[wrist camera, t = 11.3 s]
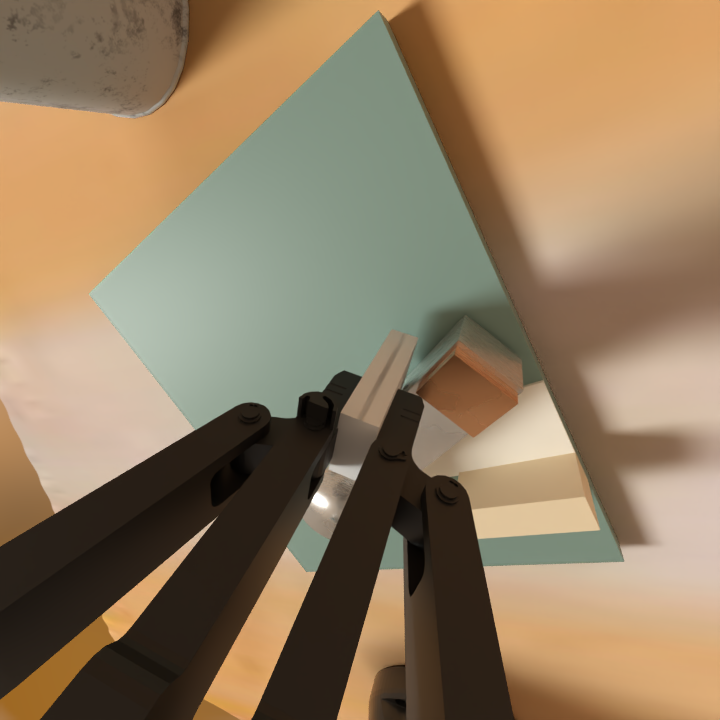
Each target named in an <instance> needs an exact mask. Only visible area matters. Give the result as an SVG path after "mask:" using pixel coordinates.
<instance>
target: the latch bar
mask: <svg viewBox="0 0 720 720" xmlns="http://www.w3.org/2000/svg"><path fill="white" fill-rule="evenodd" d="M401 390H403V391H406V392H409V393H412V394H415V395H417V396H420V397H422V400H423V403H424V410H423V413H422V416H421V420H420V423H419V427H418V430H417V434H416V437H415V440H414V444H413V447H412V458H413V460H414V462H415V464H416V465H417V466H418V468H419V469H421V470H423V469H424V468H425V467H427V466H428V465H429V464H430V463H432V462H433V461H434V460H436V459H437V458H438V457H439V456H441V455H442V454H443V453H445V452H446V451H447V450H448V449H450V448H451V447H452V446H454V445H455V444H456V443H457V442H459V441H460V440H461V439H463V438H464V437H465V436H466V435H468V434H469V435H470V436H472V437H473V438H474V437H475V436H477V435H478V434H479V433H481V432H482V431H483V430H485V429H486V428H487V427H488V426H490V425H491V424H492V423H494V422H495V421H496V420H498V419H499V418H500V417H502V416H503V415H504V414H506V413H507V412H508V411H510V410H511V409H512V408H513V407H515V406H516V405H517V404H518V395H519V394H520V393H522V392H523V391H524V389H523V374H522V358H521V357H519V356H518V355H517V354H516V353H514V352H513V351H512V350H510V349H509V348H508V347H507V346H505V345H504V344H503V343H501V342H500V341H499V340H498V339H496V338H495V337H494V336H492V335H491V334H490V333H489V332H487V331H486V330H485V329H484V328H482V327H481V326H480V325H478V324H477V323H476V322H475V321H473V320H472V319H471V318H469V317H468V316H467V315H466V314H465V316H464V317H463V318H462V319H461V320H460V321H459V322H458V323H457V324H456V325H455V326H454V327H453V328H452V329H451V330H450V331H449V332H448V334H447V335H446V336H445V337H444V338H443V339H442V340H441V341H440V342H439V343H438V344H437V345H436V346H435V347H434V348H433V349H432V351H431V352H430V353H429V354H428V355H427V356H426V357H425V358H424V359H423V360H422V361H421V362H420V363H419V364H418V365H417V366H416V368H415V369H414V370H413V371H412V372H411V373H410V374H409V375H408V376H407V377H406V378H405V382H404V385H403V387H402V389H401ZM329 465H330V463H329ZM329 465H328V466H327V468H326V470H325V473H324V478H323V481H322V483H321V485H320V487H319V489H318V491H317V492H316V494H315V496H314V498H313V500H312V502H311V503H310V505H309V507H308V509H307V511H306V513H305V514H304V516H303V519H304V521H305V522H306V523H307V524H308V525H309V526H310V527H311V528H312V529H313V530H314V531H316V532H317V533H319V534H320V535H322V536H323V537H325V538H327V539H331V536H332V534H333V532H334V529H335V527H336V525H337V522H338V520H339V518H340V515H341V513H342V511H343V509H344V506H345V504H346V502H347V499H348V497H349V495H350V492H351V490H352V488H353V485H354V483H355V480H352V479H350V478H348V477H345V476H343V475H341V474H338V473H336V472H333V471H331V470H329Z"/></svg>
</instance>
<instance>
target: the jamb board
mask: <svg viewBox="0 0 720 720" xmlns="http://www.w3.org/2000/svg"><path fill="white" fill-rule="evenodd" d="M89 295H90V296H91V298H92V299H93V300H94V301H95V303H96V304H97V305H98V306H99V308H100V309H101V310H102V312H103V313H104V314H105V315H106V317H107V318H108V319H109V320H110V322H111V323H112V324H113V326H114V327H115V328H116V329H117V331H118V332H119V333H120V335H121V336H122V337H123V338H124V340H125V341H126V342H127V343H128V345H129V346H130V347H131V349H132V350H133V351H134V352H135V354H136V355H137V356H138V357H139V359H140V360H141V361H142V363H143V364H144V365H145V366H146V368H147V369H148V370H149V372H150V373H151V374H152V375H153V377H154V378H155V379H156V380H157V382H158V383H159V384H160V386H161V387H162V388H163V389H164V391H165V392H166V393H167V394H168V396H169V397H170V398H171V400H172V401H173V402H174V403H175V405H176V406H177V407H178V409H179V410H180V411H181V412H182V414H183V415H184V416H185V417H186V419H187V420H188V421H189V423H190V424H191V425H192V426H193V428H194V429H195V430H197V429H198V428H200V427H202V426H203V425H205V424H207V423H208V422H210V421H212V420H213V419H215V418H217V417H218V416H220V415H222V414H223V413H225V412H227V411H228V410H230V409H232V408H233V407H235V406H237V405H240V404H242V403H248V402H253V403H259V404H262V405H264V406H266V407H267V408H268V409H269V411H270V414H271V417H279V418H296V416H297V409H298V401H299V397H300V396H301V395H303V394H304V393H308V392H314V391H319V392H323V390H325V388H326V386H327V385H328V384H329V382H330V381H331V379H332V378H333V377H334V375H336V374H338V373H340V372H342V371H344V370H345V371H348V372H351V373H353V374H356V375H359V376H362V377H363V375H364V373H365V372H366V370H367V369H368V367H369V365H370V364H371V362H372V360H373V359H374V357H375V356H376V354H377V352H378V351H379V349H380V347H381V346H382V344H383V343H384V341H385V339H386V338H387V336H388V334H389V333H390V331H391V330H392V329H393V330H396V331H399V332H402V333H405V334H408V335H411V336H414V337H418V341H417V344H416V347H415V350H414V353H413V356H412V360H411V363H410V366H409V369H408V372H407V375H406V377H407V376H408V375H409V374H410V373H411V372H412V371H413V370H414V369H415V368H416V366H417V365H418V364H419V363H420V362H421V361H422V360H423V359H424V358H425V357H426V356H427V355H428V354H429V353H430V352H431V351H432V349H433V348H434V347H435V346H436V345H437V344H438V343H439V342H440V341H441V340H442V339H443V338H444V337H445V336H446V335H447V334H448V332H449V331H450V330H451V329H452V328H453V327H454V326H455V325H456V324H457V323H458V322H459V321H460V320H461V319H462V318H463V317H464V316H465V314H466V315H467V316H468V317H469V318H471V319H472V320H473V321H475V322H476V323H477V324H478V325H480V326H481V327H482V328H484V329H485V330H486V331H487V332H489V333H490V334H491V335H492V336H494V337H495V338H496V339H498V340H499V341H500V342H501V343H503V344H504V345H505V346H507V347H508V348H509V349H510V350H512V351H513V352H514V353H516V354H517V355H518V356H519V357H521V358H522V374H523V389H524V391H523V392H522V393H520V394H519V395H518V404H517V405H516V406H515V407H513V408H512V409H511V410H510V411H508V412H507V413H506V414H504V415H503V416H502V417H500V418H499V419H498V420H496V421H495V422H494V423H492V424H491V425H490V426H488V427H487V428H486V429H485V430H483V431H482V432H481V433H479V434H478V435H477V436H475V437H474V438H473V437H472V436H470V435H469V434H468V435H466V436H465V437H464V438H463V439H461V440H460V441H459V442H457V443H456V444H455V445H454V446H452V447H451V448H450V449H448V450H447V451H446V452H445V453H443V454H442V455H441V456H439V457H438V458H437V459H436V460H434V461H433V462H432V463H430V464H429V465H428V466H427V467H425V468H424V469H423V470H422V471H423V472H424V473H426V474H427V475H428V476H430V477H434V476H436V475H445V476H448V477H451V478H453V479H455V480H456V481H458V482H459V483H461V485H462V486H463V487H464V488H465V489H466V491H467V493H468V496H469V499H470V503H471V508H472V513H473V518H474V523H475V528H476V533H477V538H478V543H479V548H480V553H481V558H482V563H483V566H503V565H535V564H566V563H598V562H624V559H623V555H622V552H621V548H620V545H619V542H618V540H617V537H616V535H615V533H614V531H613V528H612V526H611V524H610V521H609V519H608V517H607V515H606V512H605V510H604V508H603V506H602V503H601V501H600V499H599V497H598V494H597V492H596V490H595V488H594V485H593V483H592V481H591V479H590V476H589V474H588V472H587V470H586V467H585V465H584V463H583V461H582V458H581V456H580V454H579V452H578V449H577V447H576V445H575V442H574V440H573V438H572V436H571V433H570V431H569V429H568V427H567V424H566V422H565V420H564V418H563V415H562V413H561V411H560V409H559V406H558V404H557V402H556V400H555V397H554V395H553V393H552V391H551V388H550V386H549V384H548V382H547V379H546V377H545V375H544V372H543V370H542V368H541V366H540V363H539V361H538V359H537V357H536V354H535V352H534V350H533V348H532V345H531V343H530V341H529V339H528V336H527V334H526V332H525V330H524V327H523V325H522V323H521V321H520V318H519V316H518V314H517V312H516V309H515V307H514V305H513V303H512V300H511V298H510V296H509V293H508V291H507V289H506V287H505V284H504V282H503V280H502V278H501V275H500V273H499V271H498V269H497V266H496V264H495V262H494V260H493V257H492V255H491V253H490V251H489V248H488V246H487V244H486V242H485V239H484V237H483V235H482V233H481V230H480V228H479V226H478V223H477V221H476V219H475V217H474V214H473V212H472V210H471V208H470V205H469V203H468V201H467V199H466V196H465V194H464V192H463V190H462V187H461V185H460V183H459V181H458V178H457V176H456V174H455V172H454V169H453V167H452V165H451V163H450V160H449V158H448V156H447V154H446V151H445V149H444V147H443V144H442V142H441V140H440V138H439V135H438V133H437V131H436V129H435V126H434V124H433V122H432V120H431V117H430V115H429V113H428V111H427V108H426V106H425V104H424V102H423V99H422V97H421V95H420V93H419V90H418V88H417V86H416V84H415V81H414V79H413V77H412V75H411V72H410V70H409V68H408V65H407V63H406V61H405V59H404V56H403V54H402V52H401V50H400V47H399V45H398V43H397V41H396V38H395V36H394V34H393V32H392V29H391V27H390V25H389V23H388V21H387V20H386V18H385V17H384V16H383V15H382V14H381V13H380V12H379V10H378V11H377V12H376V13H375V14H374V15H373V16H372V17H371V18H370V19H369V20H368V21H367V22H366V23H365V24H364V25H363V26H362V27H361V28H360V29H359V30H358V31H357V32H356V33H355V34H354V35H353V36H352V37H351V38H349V39H348V40H347V41H346V42H345V43H344V44H343V45H342V46H341V47H340V48H339V49H338V50H337V51H336V52H335V53H334V54H333V55H332V56H331V57H330V58H329V59H328V60H327V61H326V62H325V63H324V64H323V65H322V66H321V67H320V68H319V69H318V70H317V71H316V72H315V73H314V74H313V75H312V76H311V77H310V78H309V79H308V80H307V81H306V82H305V83H304V84H303V85H301V86H300V87H299V88H298V89H297V90H296V91H295V92H294V93H293V94H292V95H291V96H290V97H289V98H288V99H287V100H286V101H285V102H284V103H283V104H282V105H281V106H280V107H279V108H278V109H277V110H276V111H275V112H274V113H273V114H272V115H271V116H270V117H269V118H268V119H267V120H266V121H265V122H264V123H263V124H262V125H261V126H260V127H259V128H258V129H257V130H256V131H254V132H253V133H252V134H251V135H250V136H249V137H248V138H247V139H246V140H245V141H244V142H243V143H242V144H241V145H240V146H239V147H238V148H237V149H236V150H235V151H234V152H233V153H232V154H231V155H230V156H229V157H228V158H227V159H226V160H225V161H224V162H223V163H222V164H221V165H220V166H219V167H218V168H217V169H216V170H215V171H214V172H213V173H212V174H211V175H210V176H209V177H208V178H206V179H205V180H204V181H203V182H202V183H201V184H200V185H199V186H198V187H197V188H196V189H195V190H194V191H193V192H192V193H191V194H190V195H189V196H188V197H187V198H186V199H185V200H184V201H183V202H182V203H181V204H180V205H179V206H178V207H177V208H176V209H175V210H174V211H173V212H172V213H171V214H170V215H169V216H168V217H167V218H166V219H165V220H164V221H163V222H162V223H161V224H159V225H158V226H157V227H156V228H155V229H154V230H153V231H152V232H151V233H150V234H149V235H148V236H147V237H146V238H145V239H144V240H143V241H142V242H141V243H140V244H139V245H138V246H137V247H136V248H135V249H134V250H133V251H132V252H131V253H130V254H129V255H128V256H127V257H126V258H125V259H124V260H123V261H122V262H121V263H120V264H119V265H118V266H117V267H116V268H115V269H114V270H113V271H111V272H110V273H109V274H108V275H107V276H106V277H105V278H104V279H103V280H102V281H101V282H100V283H99V284H98V285H97V286H96V287H95V288H94V289H93V290H92V291H91V292H90V293H89ZM329 541H330V539H327V538H325V537H323V536H322V535H320V534H319V533H317V532H316V531H314V530H313V529H312V528H311V527H310V526H309V525H308V524H307V523H306V522H305V521H304V519H303V518H302V520H301V522H300V523H299V525H298V527H297V529H296V531H295V533H294V534H293V536H292V538H291V540H290V542H289V543H288V545H287V548H288V549H289V550H290V551H291V553H292V554H293V555H294V557H295V558H296V559H297V560H298V562H299V563H300V564H301V565H302V567H303V568H304V569H305V571H306V572H315V571H317V569H318V566H319V564H320V562H321V559H322V557H323V555H324V553H325V550H326V548H327V546H328V543H329ZM379 569H404V564H403V536H402V535H401V534H400V533H398V532H397V531H396V530H395V529H394V528H392V527H391V529H390V533H389V536H388V540H387V543H386V547H385V550H384V554H383V558H382V561H381V565H380V568H379Z"/></svg>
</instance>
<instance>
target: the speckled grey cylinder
mask: <svg viewBox="0 0 720 720" xmlns="http://www.w3.org/2000/svg"><path fill="white" fill-rule="evenodd" d="M188 37H189V4H188V0H0V101H2V102H11V103H20V104H29V105H37V106H46V107H55V108H64V109H73V110H82V111H90V112H99V113H108V114H112V115H114V116H116V117H126V118H138V117H142V116H146V115H150V114H151V113H153V112H154V111H155V110H157V109H158V108H160V107H161V106H162V105H164V104H165V102H166V101H167V99H168V98H169V97H170V95H171V94H172V92H173V91H174V90H175V88H176V85H177V83H178V80H179V78H180V75H181V73H182V70H183V68H184V62H185V57H186V52H187V46H188Z"/></svg>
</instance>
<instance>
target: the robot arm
mask: <svg viewBox="0 0 720 720" xmlns="http://www.w3.org/2000/svg"><path fill="white" fill-rule="evenodd" d="M417 341H418V337H414V336H411V335H408V334H405V333H402V332H399V331H396V330H393V329H392V330H391V331H390V333H389V334H388V336H387V338H386V339H385V341H384V343H383V344H382V346H381V347H380V349H379V351H378V352H377V354H376V356H375V357H374V359H373V360H372V362H371V364H370V365H369V367H368V369H367V370H366V372H365V373H364V375H363V377H362V376H359V375H356V374H353V373H351V372H348V371H345V370H344V371H342V372H340V373H338V374H336V375H334V377H333V378H332V379H331V381H330V382H329V384H328V385H327V386H326V388H325V390H323V392H319V391H314V392H308V393H304V394H303V395H301V396H300V397H299V401H298V409H297V416H296V418H279V417H271V414H270V411H269V409H268V408H267V407H266V406H264V405H262V404H259V403H253V402H248V403H242V404H240V405H237V406H235V407H233V408H232V409H230V410H228V411H227V412H225V413H223V414H222V415H220V416H218V417H217V418H215V419H213V420H212V421H210V422H208V423H207V424H205V425H203V426H202V427H200V428H198V429H197V430H195V431H193V432H192V433H190V434H188V435H187V436H185V437H183V438H182V439H180V440H178V441H176V442H175V443H173V444H171V445H170V446H168V447H166V448H165V449H163V450H161V451H160V452H158V453H156V454H155V455H153V456H151V457H150V458H148V459H146V460H145V461H143V462H141V463H140V464H138V465H136V466H135V467H133V468H131V469H130V470H128V471H126V472H125V473H123V474H121V475H120V476H118V477H116V478H115V479H113V480H111V481H109V482H108V483H106V484H104V485H103V486H101V487H99V488H98V489H96V490H94V491H93V492H91V493H89V494H88V495H86V496H84V497H83V498H81V499H79V500H78V501H76V502H74V503H73V504H71V505H69V506H68V507H66V508H64V509H63V510H61V511H59V512H58V513H56V514H54V515H53V516H51V517H49V518H48V519H46V520H44V521H42V522H41V523H39V524H37V525H36V526H34V527H32V528H31V529H29V530H27V531H26V532H24V533H22V534H21V535H19V536H17V537H16V538H14V539H12V540H11V541H9V542H7V543H6V544H4V545H2V546H1V547H0V699H1V698H2V697H4V696H5V695H6V694H8V693H9V692H10V691H11V690H13V689H14V688H15V687H17V686H18V685H19V684H20V683H21V682H22V681H24V680H25V679H26V678H27V677H28V676H29V675H31V674H32V673H33V672H34V671H35V670H37V669H38V668H39V667H40V666H41V665H43V664H44V663H45V662H46V661H47V660H48V659H50V658H51V657H52V656H53V655H54V654H56V653H57V652H58V651H59V650H60V649H61V648H62V647H64V646H65V645H66V644H67V643H69V642H70V641H71V640H72V639H73V638H74V637H75V636H77V635H78V634H79V633H80V632H81V631H83V630H84V629H85V628H86V627H87V626H89V625H90V624H91V623H92V622H93V621H95V619H97V618H98V617H99V616H100V615H102V614H103V613H104V612H105V611H106V610H108V609H109V608H110V607H111V606H112V605H113V604H115V603H116V602H117V601H118V600H119V599H121V598H122V597H123V596H124V595H125V594H126V593H128V592H129V591H130V590H131V589H132V588H134V587H135V586H136V585H137V584H138V583H139V582H141V581H142V580H143V579H144V578H145V577H147V576H148V575H149V574H150V573H151V572H152V571H154V570H155V569H156V568H157V567H158V566H160V565H161V564H162V563H163V562H164V561H165V560H167V559H168V558H169V557H170V556H171V555H173V554H174V553H175V552H176V551H177V550H178V549H180V548H181V547H182V546H183V545H184V544H186V543H187V542H188V541H189V540H190V539H191V538H193V537H194V536H195V535H196V534H197V533H199V532H200V531H201V530H202V529H203V528H204V527H206V526H207V525H208V524H209V523H210V522H212V521H213V520H214V519H215V518H216V517H217V516H218V517H217V518H216V520H215V521H214V522H213V524H212V525H211V526H210V527H209V529H208V530H207V531H206V532H205V534H204V535H203V536H202V538H201V539H200V540H199V541H198V543H197V544H196V545H195V546H194V548H193V549H192V550H191V552H190V553H189V554H188V555H187V557H186V558H185V559H184V560H183V562H182V563H181V564H180V566H179V567H178V568H177V569H176V571H175V572H174V573H173V575H172V576H171V577H170V578H169V580H168V581H167V582H166V583H165V585H164V586H163V587H162V589H161V590H160V591H159V592H158V594H157V595H156V596H155V597H154V599H153V600H152V601H151V603H150V604H149V605H148V606H147V608H146V609H145V610H144V612H143V613H142V614H141V615H140V617H139V618H138V619H137V620H136V622H135V623H134V624H133V626H132V627H131V628H130V629H129V630H128V631H127V633H126V634H125V635H124V636H123V637H121V638H120V639H119V640H118V641H115V642H113V643H111V644H109V645H107V646H105V647H103V648H102V649H101V650H100V651H99V652H97V653H96V654H95V655H94V656H93V657H92V658H91V659H90V660H89V661H88V663H87V664H86V665H85V666H84V667H83V668H82V669H81V670H80V671H79V673H78V674H77V675H76V676H75V678H74V679H73V680H72V681H71V682H70V684H69V685H68V686H67V687H66V689H65V690H64V691H63V692H62V694H61V695H60V696H59V697H58V698H57V700H56V701H55V702H54V703H53V705H52V706H51V707H50V708H49V710H48V711H47V712H46V713H45V714H44V716H43V717H42V718H41V719H40V720H193V717H194V715H195V713H196V711H197V709H198V707H199V705H200V704H201V702H202V700H203V698H204V696H205V695H206V693H207V691H208V689H209V687H210V685H211V684H212V682H213V680H214V678H215V676H216V675H217V673H218V671H219V669H220V667H221V665H222V664H223V662H224V660H225V658H226V656H227V655H228V653H229V651H230V649H231V647H232V645H233V644H234V642H235V640H236V638H237V636H238V634H239V633H240V631H241V629H242V627H243V625H244V624H245V622H246V620H247V618H248V616H249V614H250V613H251V611H252V609H253V607H254V605H255V604H256V602H257V600H258V598H259V596H260V594H261V593H262V591H263V589H264V587H265V585H266V584H267V582H268V580H269V578H270V576H271V574H272V573H273V571H274V569H275V567H276V565H277V563H278V562H279V560H280V558H281V556H282V554H283V553H284V551H285V549H286V547H287V545H288V543H289V542H290V540H291V538H292V536H293V534H294V533H295V531H296V529H297V527H298V525H299V523H300V522H301V520H302V518H303V516H304V514H305V513H306V511H307V509H308V507H309V505H310V503H311V502H312V500H313V498H314V496H315V494H316V492H317V491H318V489H319V487H320V485H321V483H322V481H323V478H324V473H325V470H326V468H327V466H328V465H329V463H330V465H329V470H331V471H333V472H336V473H338V474H341V475H343V476H345V477H348V478H350V479H352V480H355V483H354V485H353V488H352V490H351V492H350V495H349V497H348V499H347V502H346V504H345V506H344V509H343V511H342V513H341V515H340V518H339V520H338V522H337V525H336V527H335V529H334V532H333V534H332V536H331V539H330V541H329V543H328V546H327V548H326V550H325V553H324V555H323V557H322V559H321V562H320V564H319V566H318V569H317V571H316V573H315V576H314V578H313V580H312V583H311V585H310V587H309V590H308V592H307V594H306V597H305V599H304V601H303V603H302V606H301V608H300V610H299V613H298V615H297V617H296V620H295V622H294V624H293V627H292V629H291V631H290V634H289V636H288V638H287V641H286V643H285V645H284V648H283V650H282V652H281V654H280V657H279V659H278V661H277V664H276V666H275V668H274V671H273V673H272V675H271V678H270V680H269V682H268V685H267V687H266V689H265V692H264V694H263V696H262V698H261V701H260V703H259V705H258V707H257V710H256V712H255V714H254V716H253V718H252V719H251V720H337V716H338V713H339V709H340V706H341V702H342V699H343V695H344V692H345V688H346V685H347V681H348V677H349V674H350V670H351V667H352V663H353V660H354V656H355V653H356V649H357V646H358V642H359V639H360V635H361V632H362V628H363V625H364V621H365V618H366V614H367V610H368V607H369V603H370V600H371V596H372V593H373V589H374V586H375V582H376V579H377V575H378V572H379V568H380V565H381V561H382V558H383V554H384V550H385V547H386V543H387V540H388V536H389V533H390V529H391V527H392V528H394V529H395V530H396V531H397V532H398V533H400V534H401V535H402V536H403V564H404V615H405V666H406V667H403V666H396V667H389V668H385V669H383V670H381V671H379V672H378V673H377V675H376V676H375V680H374V684H373V688H372V692H371V695H370V700H369V720H514V717H513V712H512V707H511V702H510V697H509V692H508V687H507V682H506V677H505V672H504V667H503V662H502V657H501V652H500V647H499V642H498V637H497V632H496V628H495V623H494V618H493V613H492V608H491V603H490V598H489V593H488V588H487V583H486V578H485V573H484V568H483V563H482V558H481V553H480V548H479V543H478V538H477V533H476V528H475V523H474V518H473V513H472V508H471V503H470V499H469V496H468V493H467V491H466V489H465V488H464V487H463V486H462V485H461V483H459V482H458V481H456V480H455V479H453V478H451V477H448V476H445V475H436V476H434V477H430V476H428V475H427V474H426V473H424V472H423V471H422V470H421V469H419V468H418V466H417V465H416V464H415V462H414V460H413V458H412V447H413V444H414V440H415V437H416V434H417V430H418V427H419V423H420V420H421V416H422V413H423V410H424V403H423V400H422V397H420V396H417V395H415V394H412V393H409V392H406V391H403V390H401V389H402V387H403V385H404V382H405V378H406V375H407V372H408V369H409V366H410V363H411V360H412V356H413V353H414V350H415V347H416V344H417Z"/></svg>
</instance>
